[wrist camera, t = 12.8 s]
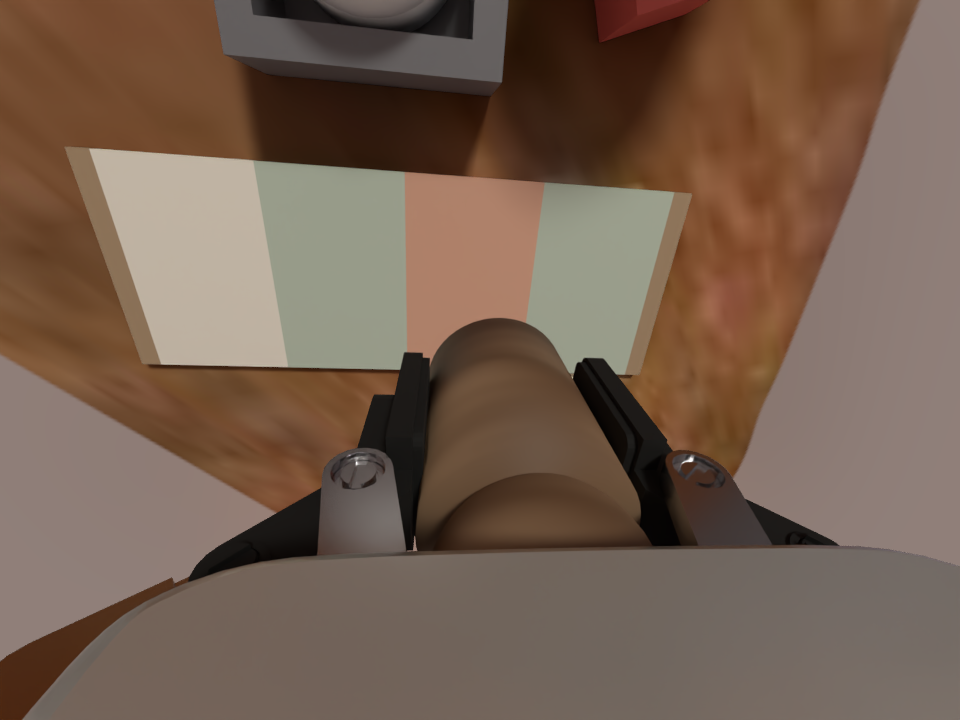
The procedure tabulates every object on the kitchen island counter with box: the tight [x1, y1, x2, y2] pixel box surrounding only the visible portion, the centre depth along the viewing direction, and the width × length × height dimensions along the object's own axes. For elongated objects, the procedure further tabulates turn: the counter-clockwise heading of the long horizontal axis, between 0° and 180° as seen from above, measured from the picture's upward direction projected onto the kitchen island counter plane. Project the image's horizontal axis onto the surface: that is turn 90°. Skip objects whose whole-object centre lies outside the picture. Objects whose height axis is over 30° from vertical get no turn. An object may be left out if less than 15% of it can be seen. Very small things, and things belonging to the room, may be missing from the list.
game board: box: [65, 147, 692, 375], centre depth 22 cm, size 30×11×1 cm, turn 86°
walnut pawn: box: [415, 318, 652, 551], centre depth 9 cm, size 4×4×9 cm
